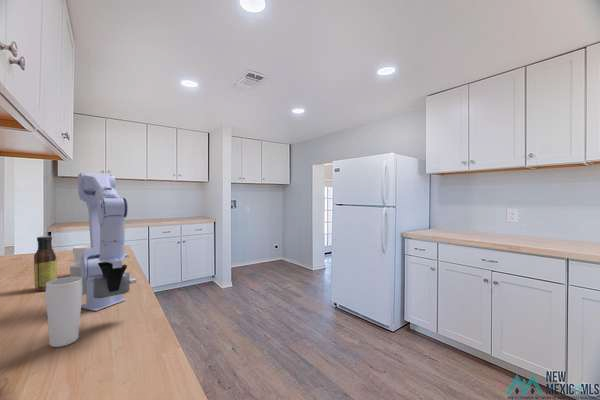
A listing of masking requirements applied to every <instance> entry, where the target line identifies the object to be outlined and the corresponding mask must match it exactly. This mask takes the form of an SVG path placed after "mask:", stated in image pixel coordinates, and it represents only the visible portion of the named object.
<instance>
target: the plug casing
mask: <svg viewBox="0 0 600 400" xmlns="http://www.w3.org/2000/svg"><path fill="white" fill-rule="evenodd" d="M133 284H137V279H136V278H135V277H134V278H131V277H130V272H125V273H123V276H122V279H121V283H120V287H119V290H118V291H113V292H109V289H108V285H107V279H106V276H105V275H103V276H98V277H95V278H94V289H93V297H94V298H105V297H110V296H115V295H120V294H123V295H124V294H127V293H129V292H130V285H133Z"/></svg>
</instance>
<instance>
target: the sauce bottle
mask: <svg viewBox="0 0 600 400" xmlns="http://www.w3.org/2000/svg"><path fill="white" fill-rule="evenodd" d="M52 240H53V237H52V236H51V235H43V236H42V235H41V236H38V237H36V241H37V250H36V251H35V253H34V255H33V271H34V276H33V277H34V287H35V288H34V289H35V291H36V292H37V291H38V292H46V283H47V282H49V281H52V280H55V279H58V267H57V254H56V253H55V251H54V249H53V246H52Z"/></svg>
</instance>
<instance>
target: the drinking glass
mask: <svg viewBox="0 0 600 400" xmlns="http://www.w3.org/2000/svg"><path fill="white" fill-rule="evenodd" d="M83 295H84V294H83V283H82V278H81V277H70V276H67V277H60V278H57V279H55V280H52V281H49V282H47V283H46V291H45V308H46V315H47V324H48V325H47V326H48V333H49V335H48V336H49V337H48V338H49V346H51V347H53V348H61V347H65V346H68V345H71V344H73V343H74V342H76V341H78V339H79V336H80V321H81V313H82V311H81V310H82V308H81V305H83V303H82V302H83Z"/></svg>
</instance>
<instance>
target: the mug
mask: <svg viewBox="0 0 600 400" xmlns="http://www.w3.org/2000/svg"><path fill="white" fill-rule="evenodd" d="M69 277H81V262H79V263H75V262H74V263H72V264H71V265H70V267H69ZM81 278H82V277H81ZM82 283H83V295H86V292H87V280H86V279H83V278H82Z"/></svg>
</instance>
